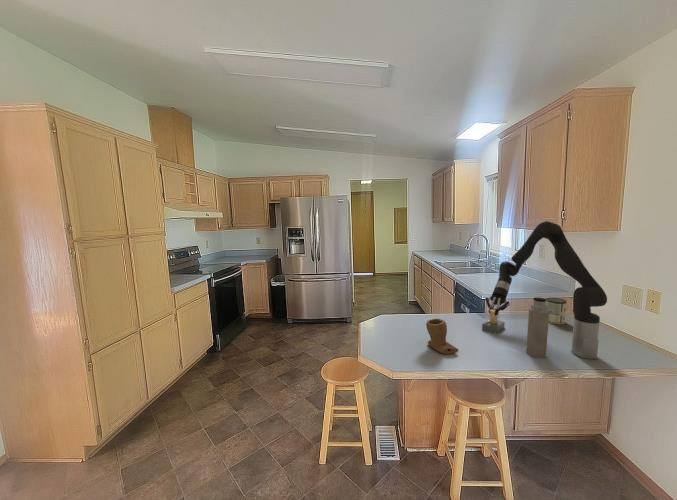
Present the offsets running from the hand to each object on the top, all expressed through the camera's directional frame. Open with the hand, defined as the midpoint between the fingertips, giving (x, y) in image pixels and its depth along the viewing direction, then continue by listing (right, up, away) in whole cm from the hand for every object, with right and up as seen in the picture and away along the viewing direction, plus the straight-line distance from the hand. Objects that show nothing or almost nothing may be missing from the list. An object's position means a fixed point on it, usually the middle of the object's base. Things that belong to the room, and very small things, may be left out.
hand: (492, 314), depth 168 cm
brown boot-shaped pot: (-38, -14, -20) cm, 45 cm away
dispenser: (+2, -10, +3) cm, 10 cm away
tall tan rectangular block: (+2, -7, +3) cm, 8 cm away
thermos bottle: (+7, -14, -27) cm, 31 cm away
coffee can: (+47, -8, +15) cm, 50 cm away
